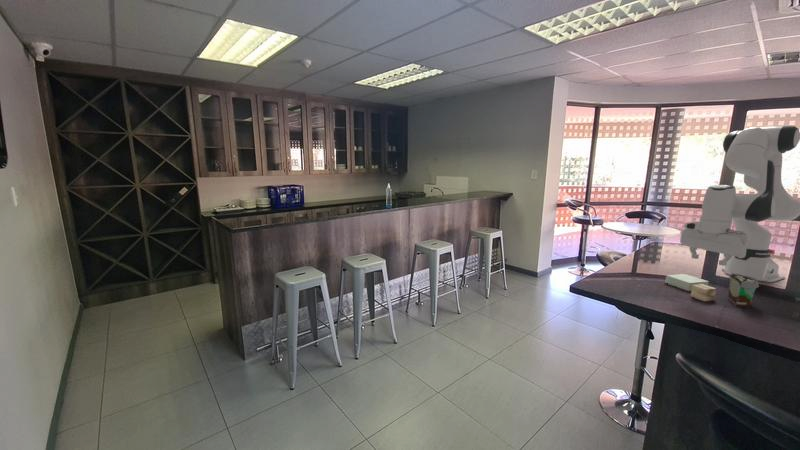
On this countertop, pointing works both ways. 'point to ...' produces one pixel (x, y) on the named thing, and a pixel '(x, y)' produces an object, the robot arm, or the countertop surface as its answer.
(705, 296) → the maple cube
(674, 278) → the sage block
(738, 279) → the food container
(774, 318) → the countertop surface
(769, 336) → the countertop surface
